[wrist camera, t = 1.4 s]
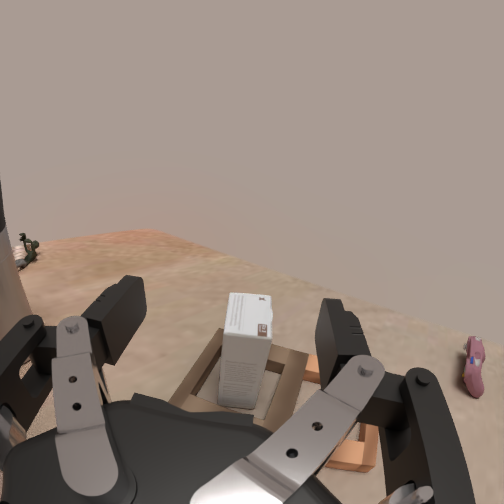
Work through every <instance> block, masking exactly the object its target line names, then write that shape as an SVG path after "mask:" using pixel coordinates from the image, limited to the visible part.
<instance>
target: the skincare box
mask: <svg viewBox="0 0 504 504" xmlns="http://www.w3.org/2000/svg"><path fill="white" fill-rule="evenodd" d="M272 319H273V312H272V299H271V296H267V295H258V294H247V293H232V292H231V293H229V299H228V306H227V312H226V319H225V325H224V333H223V344H222V352H221V362H220V374H219V389H218V405H220V406H226V407H234V408H244V409H254V408H255V404H256V401H257V397H258V393H259V389H260V386H261V382H262V378H263V374H264V371H265V367H266V363H267V359H268V355H269V351H270V347H271V342H272Z"/></svg>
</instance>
